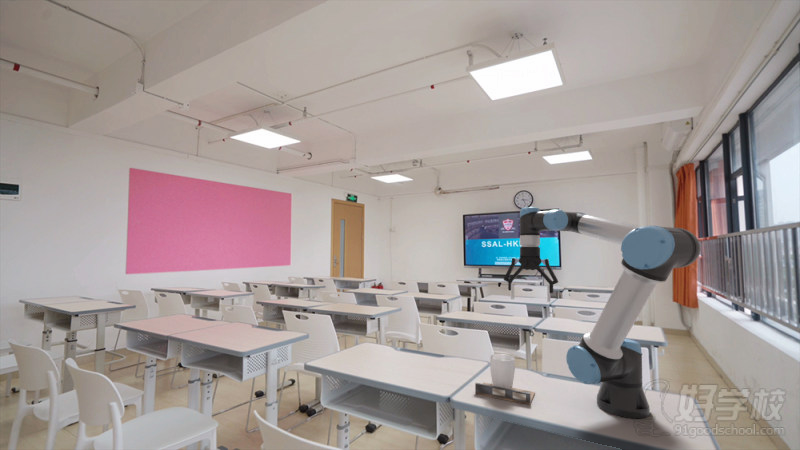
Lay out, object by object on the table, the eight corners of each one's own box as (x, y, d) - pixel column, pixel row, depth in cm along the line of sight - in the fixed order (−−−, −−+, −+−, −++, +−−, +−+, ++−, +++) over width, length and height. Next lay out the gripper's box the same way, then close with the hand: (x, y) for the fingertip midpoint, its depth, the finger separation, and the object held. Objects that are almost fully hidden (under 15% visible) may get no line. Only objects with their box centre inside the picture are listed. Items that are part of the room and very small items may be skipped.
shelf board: (534, 393, 133) (534, 383, 134) (529, 405, 124) (529, 394, 124) (483, 383, 142) (483, 374, 143) (475, 393, 133) (475, 383, 133)
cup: (490, 393, 131) (490, 359, 132) (489, 384, 140) (489, 353, 141) (516, 396, 129) (516, 361, 130) (514, 387, 138) (513, 354, 139)
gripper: (564, 246, 142) (565, 301, 141) (500, 246, 154) (500, 296, 153) (563, 246, 136) (564, 304, 134) (496, 245, 148) (496, 298, 146)
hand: (530, 300), depth 144 cm, fingers open, 13 cm apart
